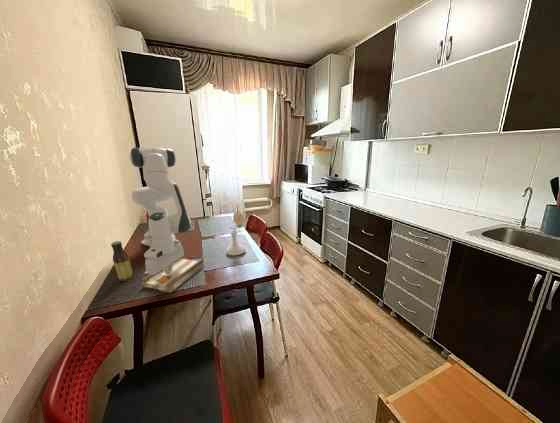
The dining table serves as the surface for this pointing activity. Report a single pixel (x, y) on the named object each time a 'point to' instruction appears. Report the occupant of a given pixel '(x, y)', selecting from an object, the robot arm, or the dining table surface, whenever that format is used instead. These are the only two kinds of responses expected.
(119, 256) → the sauce bottle
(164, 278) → the ball
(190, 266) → the beige tray
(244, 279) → the dining table surface
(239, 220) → the flower in vase
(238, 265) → the dining table surface
